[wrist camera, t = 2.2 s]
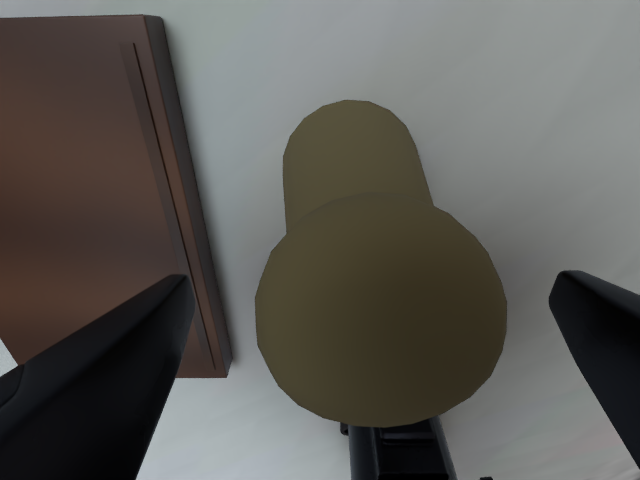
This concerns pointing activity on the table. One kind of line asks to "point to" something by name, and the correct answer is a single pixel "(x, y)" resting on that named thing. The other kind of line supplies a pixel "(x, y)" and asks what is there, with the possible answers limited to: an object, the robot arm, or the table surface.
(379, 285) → the olive yellow pawn
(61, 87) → the walnut board
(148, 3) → the table surface
